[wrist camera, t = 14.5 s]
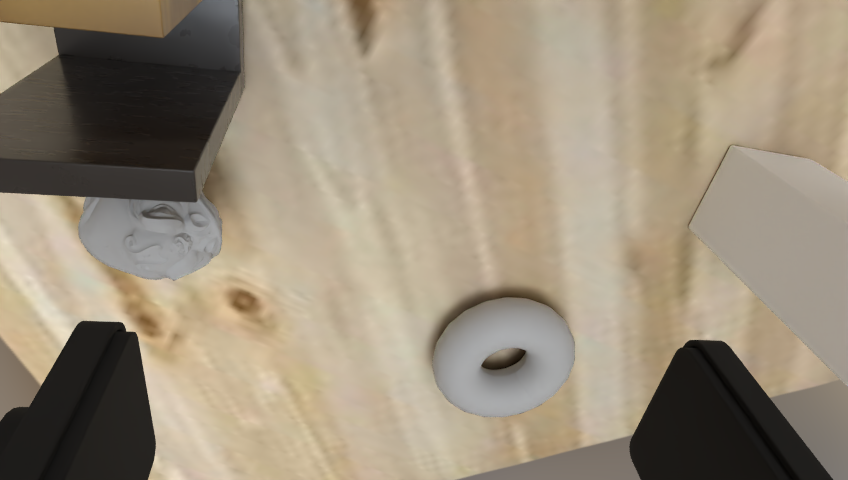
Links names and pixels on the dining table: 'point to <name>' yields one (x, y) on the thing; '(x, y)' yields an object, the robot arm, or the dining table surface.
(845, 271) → the milk
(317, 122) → the dining table surface
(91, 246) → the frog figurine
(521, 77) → the dining table surface
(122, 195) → the book rack
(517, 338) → the donut
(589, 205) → the dining table surface
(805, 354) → the dining table surface
